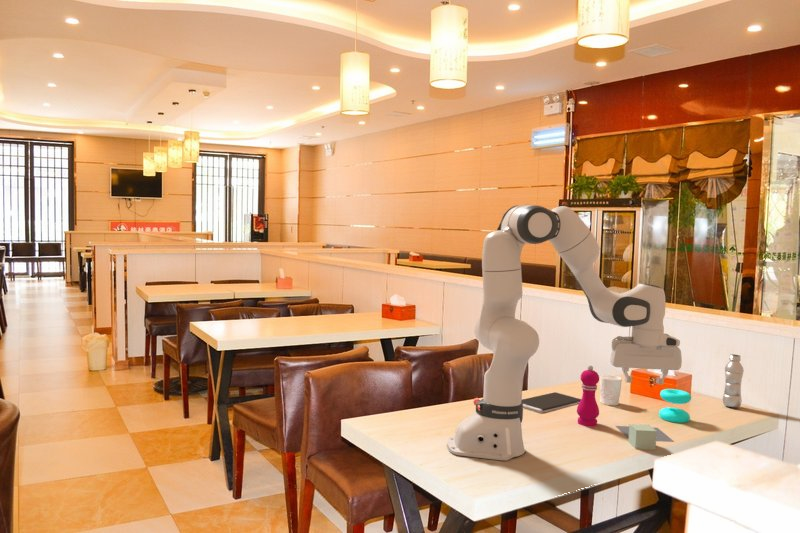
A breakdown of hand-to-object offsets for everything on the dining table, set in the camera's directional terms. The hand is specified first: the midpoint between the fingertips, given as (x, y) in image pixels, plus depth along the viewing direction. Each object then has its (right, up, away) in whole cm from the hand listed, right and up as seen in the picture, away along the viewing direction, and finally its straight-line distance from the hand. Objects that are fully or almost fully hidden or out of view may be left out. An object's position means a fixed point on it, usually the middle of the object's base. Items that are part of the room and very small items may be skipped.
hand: (644, 383), depth 186 cm
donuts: (+23, -19, +31) cm, 43 cm away
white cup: (+6, -17, +49) cm, 52 cm away
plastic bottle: (+53, -19, +50) cm, 75 cm away
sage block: (0, -20, +1) cm, 20 cm away
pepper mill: (-11, -18, +22) cm, 30 cm away
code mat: (+5, -19, +13) cm, 24 cm away
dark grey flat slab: (-18, -17, +46) cm, 52 cm away
